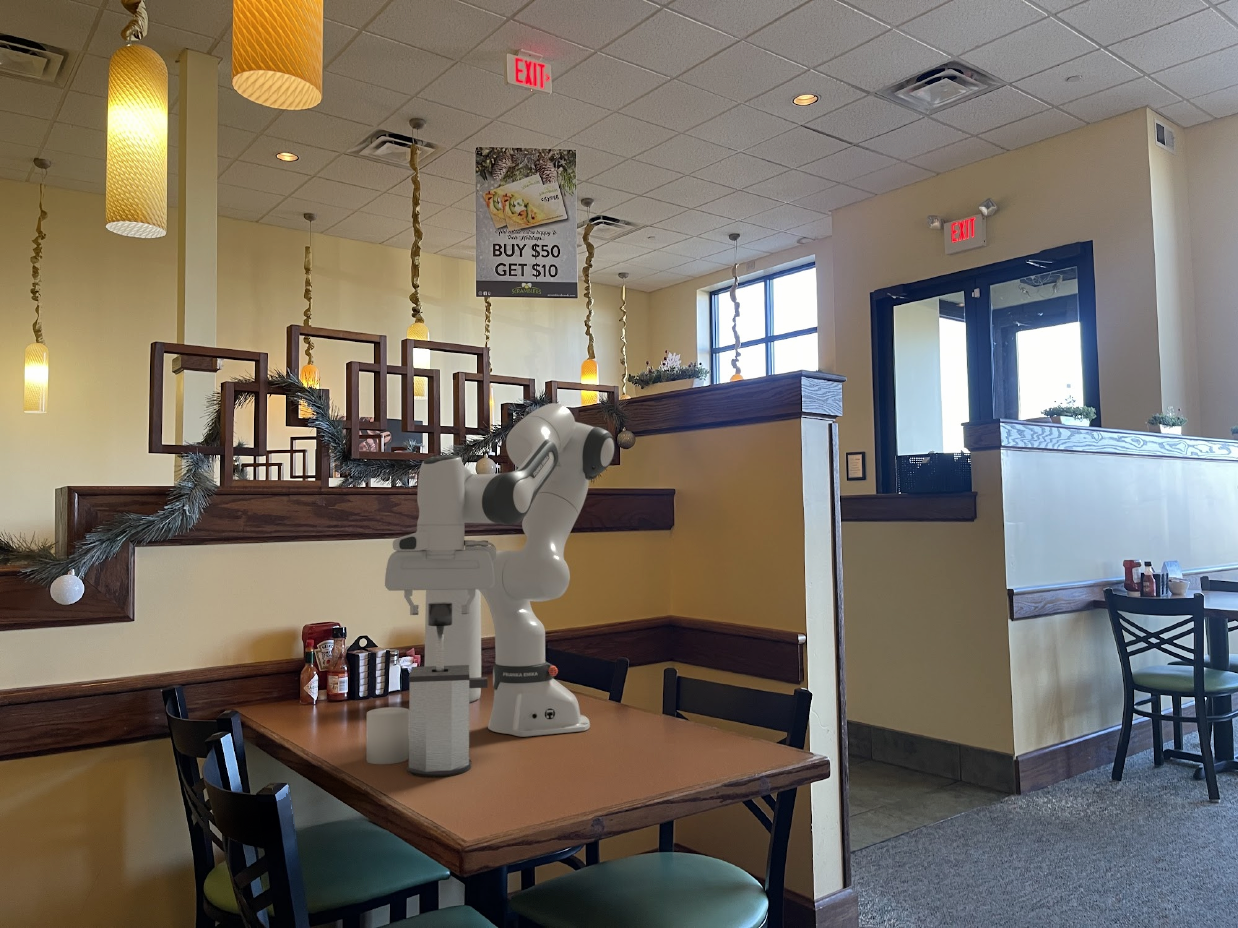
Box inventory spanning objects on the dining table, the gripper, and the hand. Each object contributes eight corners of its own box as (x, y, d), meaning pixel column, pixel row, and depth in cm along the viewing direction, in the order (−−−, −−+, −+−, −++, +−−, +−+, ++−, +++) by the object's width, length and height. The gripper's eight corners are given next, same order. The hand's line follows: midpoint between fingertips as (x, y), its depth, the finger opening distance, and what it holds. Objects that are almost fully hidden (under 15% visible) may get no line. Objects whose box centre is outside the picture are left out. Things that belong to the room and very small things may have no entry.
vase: (425, 695, 237) (426, 574, 239) (480, 693, 239) (480, 573, 241) (423, 706, 223) (424, 578, 224) (482, 704, 225) (482, 577, 227)
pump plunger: (451, 713, 171) (452, 601, 172) (451, 718, 166) (452, 604, 168) (428, 714, 170) (428, 602, 171) (427, 719, 166) (428, 604, 167)
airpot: (405, 778, 161) (406, 676, 162) (409, 761, 172) (409, 666, 173) (488, 774, 163) (488, 674, 165) (486, 757, 175) (486, 663, 176)
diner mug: (410, 748, 182) (410, 703, 183) (407, 762, 172) (408, 714, 172) (370, 750, 181) (370, 705, 182) (364, 765, 170) (364, 717, 171)
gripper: (495, 539, 175) (495, 611, 174) (387, 540, 172) (386, 613, 171) (496, 540, 169) (496, 614, 168) (384, 541, 165) (383, 617, 165)
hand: (440, 614), depth 169 cm, fingers open, 8 cm apart
